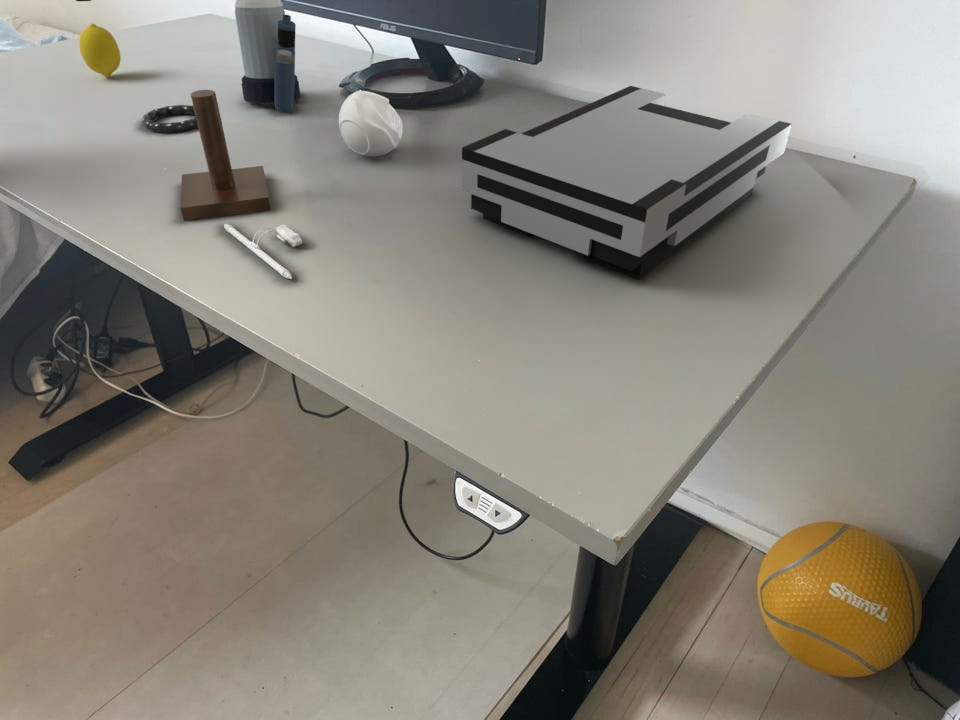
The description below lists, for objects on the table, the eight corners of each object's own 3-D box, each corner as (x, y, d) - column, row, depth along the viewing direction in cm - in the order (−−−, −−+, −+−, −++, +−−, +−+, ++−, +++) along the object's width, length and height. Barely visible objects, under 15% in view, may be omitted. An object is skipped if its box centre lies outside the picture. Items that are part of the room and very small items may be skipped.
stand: (183, 221, 75) (153, 111, 68) (184, 186, 82) (158, 84, 75) (270, 210, 78) (250, 103, 70) (265, 177, 84) (246, 76, 77)
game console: (775, 182, 84) (795, 112, 79) (633, 292, 65) (647, 209, 60) (623, 139, 95) (631, 75, 90) (462, 223, 75) (461, 147, 70)
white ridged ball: (398, 167, 87) (393, 103, 82) (336, 166, 87) (328, 101, 82) (407, 143, 93) (403, 82, 88) (349, 141, 93) (343, 80, 89)
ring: (141, 136, 95) (139, 127, 94) (145, 115, 101) (143, 107, 100) (208, 130, 97) (206, 121, 96) (207, 110, 103) (205, 101, 102)
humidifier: (265, 90, 111) (236, -102, 98) (311, 94, 108) (287, -103, 95) (231, 101, 104) (196, -104, 91) (279, 105, 101) (250, -105, 89)
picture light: (221, 228, 74) (217, 210, 73) (260, 216, 76) (256, 198, 75) (288, 283, 66) (284, 262, 64) (329, 267, 68) (326, 247, 67)
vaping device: (295, 98, 106) (297, 14, 97) (292, 114, 102) (293, 28, 94) (277, 96, 105) (277, 11, 97) (273, 112, 101) (273, 25, 93)
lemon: (119, 70, 118) (104, 18, 113) (131, 78, 115) (116, 24, 110) (84, 76, 115) (67, 23, 110) (95, 84, 112) (78, 30, 107)
